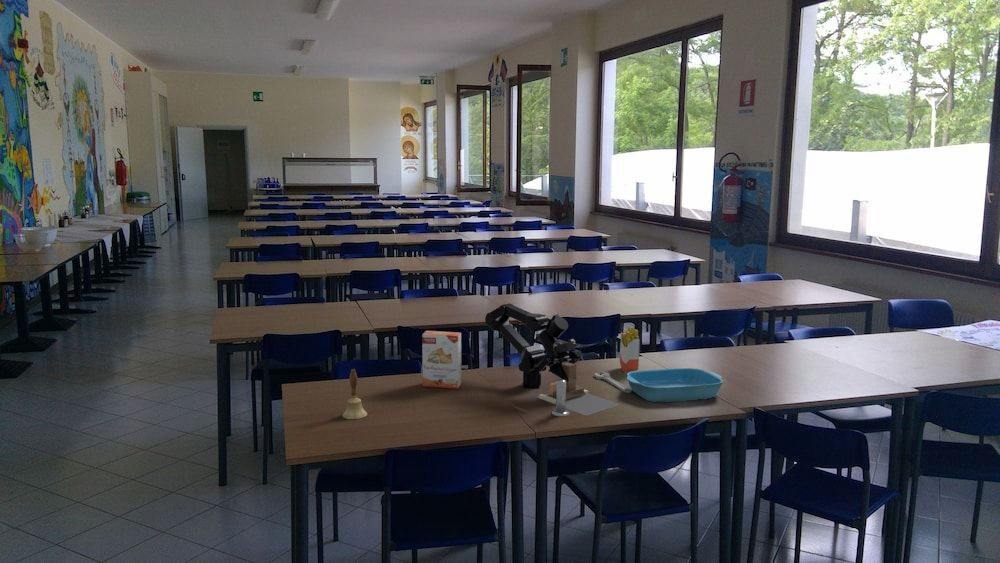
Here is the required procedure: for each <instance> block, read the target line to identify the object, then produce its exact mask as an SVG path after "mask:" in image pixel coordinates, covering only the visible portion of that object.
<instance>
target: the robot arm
mask: <svg viewBox="0 0 1000 563" xmlns="http://www.w3.org/2000/svg"><path fill="white" fill-rule="evenodd" d="M510 318H511V319H514V320H516V321H518V322H520V323H522V324H524V325H525V327H526V329H528V330H529V331H531V332H532V333H535V332H536V334H535V339H534V341H535V342H540V344H541V345H542V347H543V349H544V350H542V349H541V347H540V346H539V345H538V344H536V345H530V343H529V342H527V340H525V338H524V337H522V335H521V334H520V333H519V332H518V331H517V330H516V329H515V328H514V327H513V326H512V325H511V323H510V320H509V319H510ZM484 321H485V324H486V326H487V327H488V328H490V329H492V330H493V331H496V332H498V333H500V334H501V335H502V336H503V337H504V338H505V339H506V341H508V342H509V344H511V345H512V347H513V348H514V349H515V350H516V351H517V352H518V353H519V355H520V358H521V359H520V360H521V362H520V363H519V364H518V370H519V371H520V372H522V373H523V374H522V388H524V389H525V388H530V389H539V388H540V386H541V385H542V373H541V372H546V371H547V367H548V368H549V369H548V373H552V374H553V375H555V376H557V377H558V378H559V379H564V380H566V382H568V381H569V380H568V377H567V375H566V373H565V372H564V370H563V368H562V364H566V363H572V364H575V365H576V363H578V362H579V360H580V359H582V357H583V356H584V354H583V352H582V351H581V350H579V349H578V350H575V348H577V345H578V344H577V343H576V340H575V339H574V338H571V339H570V338H569V339H568V340H566V341H567V342H564V343H563V342H562V341H558V338H560V336H561V335H562V334H563V333H564V332H566V331H567V329H568V328H569V323H568V321H567V320H566V319H565V318H563V317H561V316H559V314H554V315H553V316H552V317H551V318H549V317H548V316H547V315H546V314H542V313H533V312H532V313H531V312H529V311H527V310H525V309H522V308H520V307H518V306H516V305H514V304H513V303H510V302H509V303H503V304H501V305H499V306H498V307H497V308H495V309H493V310H492V311H490V312H487V313H486V315H485V318H484ZM537 332H539V333H537ZM546 355H547V356H548V357H547V356H546Z"/></svg>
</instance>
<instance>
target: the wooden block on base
mask: <svg viewBox="0 0 1000 563" xmlns="http://www.w3.org/2000/svg"><path fill="white" fill-rule="evenodd" d="M562 368H563V370H564V372H565V373H566V375H567V377H568V380H569V381H568V382H566V400H567V399H570V398H574V397H577V396H581V395H584V390H585V387H581V386H579V385H577V364H576V363H575V364H572V363H566V364H564V363H562ZM556 392H557V391H554V392H553V398H554V399H556Z"/></svg>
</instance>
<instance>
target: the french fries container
mask: <svg viewBox="0 0 1000 563" xmlns="http://www.w3.org/2000/svg"><path fill="white" fill-rule="evenodd" d="M640 340H641V339H640V336H639V330H638V329H635V328H634V326H627V330H625V332H620V348H619V350H620V351H619V365H620V369H621V370H622V371H623V372H624V373H625V372H626V374H627V373H629V372H632V371H639V370H638V369H639V362H640Z"/></svg>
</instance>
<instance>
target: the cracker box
mask: <svg viewBox="0 0 1000 563" xmlns="http://www.w3.org/2000/svg"><path fill="white" fill-rule="evenodd" d="M421 336H422V341H421V342H422V343H421V344H422V346H421V348H422V349H421V350H422V360H421V361H422V362H421V365H422V366H421V367H422V387H425V388H427V387H429V388H442V389H456V390H458V389H459V388H460V386H461V385H462V332H453V331H440V330H439V331H437V330H425V331H424V332H423V333H422V335H421Z"/></svg>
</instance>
